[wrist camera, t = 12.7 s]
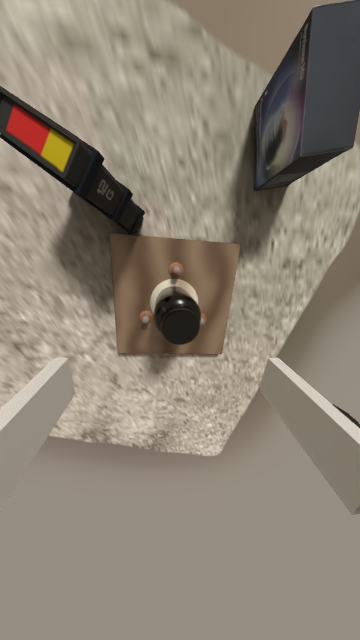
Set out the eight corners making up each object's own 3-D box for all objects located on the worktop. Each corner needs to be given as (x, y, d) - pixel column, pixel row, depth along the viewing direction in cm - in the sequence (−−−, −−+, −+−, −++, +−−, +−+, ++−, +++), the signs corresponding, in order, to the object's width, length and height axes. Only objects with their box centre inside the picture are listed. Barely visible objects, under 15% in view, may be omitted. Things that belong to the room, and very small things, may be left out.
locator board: (119, 349, 35) (115, 358, 32) (112, 234, 28) (105, 231, 25) (219, 350, 38) (224, 359, 34) (237, 244, 30) (246, 243, 27)
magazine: (149, 247, 28) (65, 185, 13) (94, 207, 30) (-29, 115, 15) (161, 227, 27) (86, 136, 12) (104, 187, 29) (-17, 69, 14)
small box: (251, 104, 24) (312, -2, 14) (295, 98, 24) (384, -12, 14) (251, 192, 28) (299, 156, 18) (289, 186, 28) (357, 147, 18)
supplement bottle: (181, 325, 33) (190, 360, 22) (149, 311, 31) (142, 341, 20) (198, 295, 31) (218, 315, 20) (165, 278, 29) (167, 290, 18)
